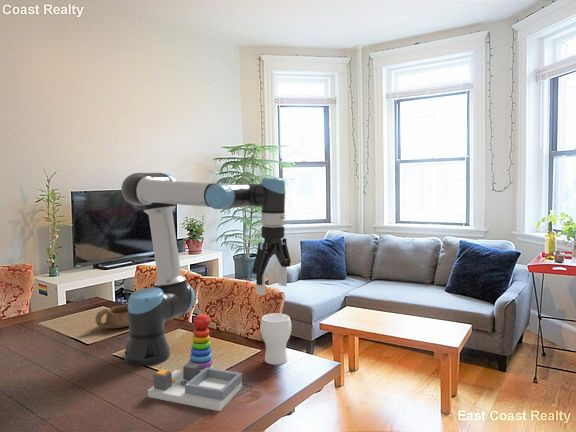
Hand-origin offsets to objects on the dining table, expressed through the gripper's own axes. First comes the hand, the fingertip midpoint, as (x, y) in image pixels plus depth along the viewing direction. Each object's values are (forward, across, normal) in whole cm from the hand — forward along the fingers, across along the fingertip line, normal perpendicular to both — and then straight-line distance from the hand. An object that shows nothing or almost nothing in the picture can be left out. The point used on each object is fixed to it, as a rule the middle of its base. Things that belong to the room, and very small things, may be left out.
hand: (272, 289), depth 144 cm
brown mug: (+27, 0, +75) cm, 80 cm away
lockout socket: (+24, -25, +4) cm, 35 cm away
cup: (+26, +4, +1) cm, 26 cm away
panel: (+26, -27, +9) cm, 38 cm away
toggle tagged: (+24, -32, +17) cm, 43 cm away
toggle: (+24, -24, +13) cm, 36 cm away
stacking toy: (+26, -15, +18) cm, 35 cm away
